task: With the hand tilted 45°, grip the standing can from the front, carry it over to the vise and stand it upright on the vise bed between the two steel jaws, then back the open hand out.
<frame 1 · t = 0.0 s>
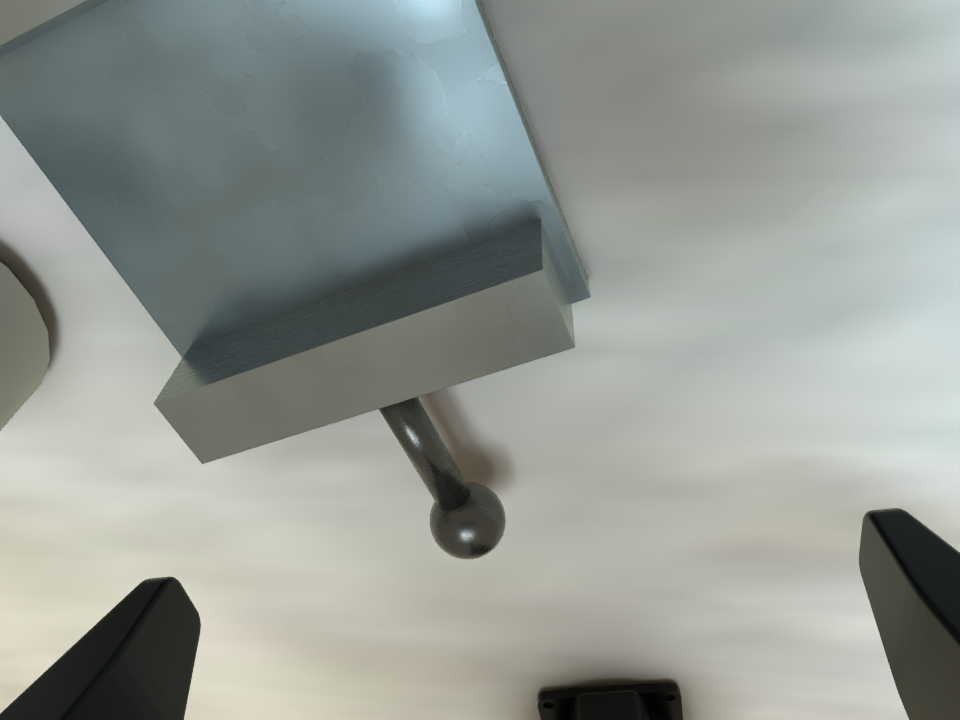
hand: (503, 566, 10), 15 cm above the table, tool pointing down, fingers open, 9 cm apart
vise: (282, 133, 22), on the table
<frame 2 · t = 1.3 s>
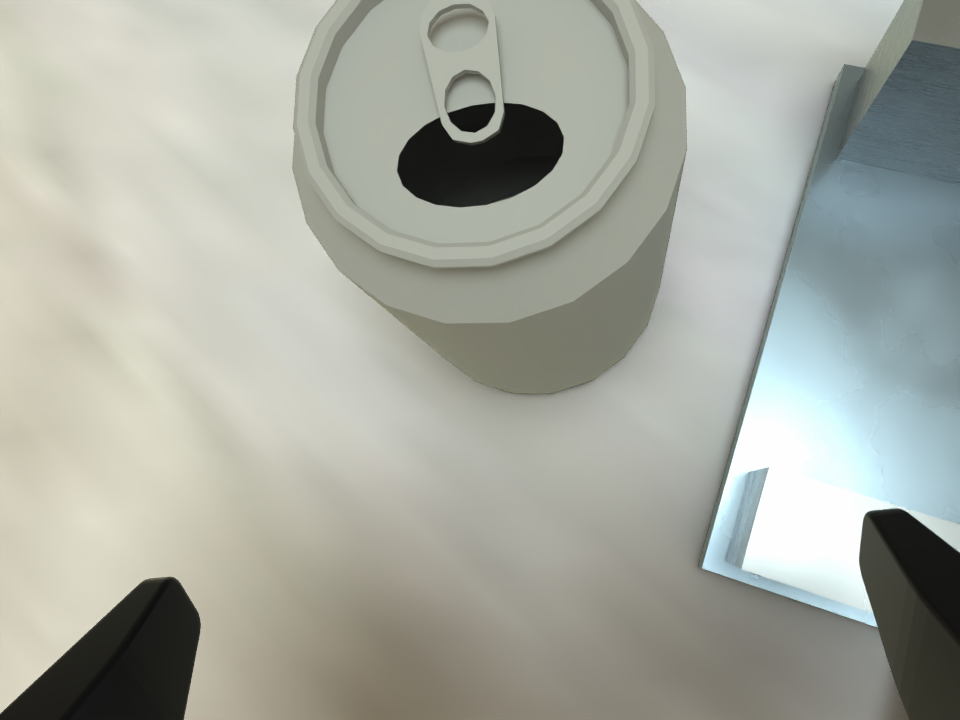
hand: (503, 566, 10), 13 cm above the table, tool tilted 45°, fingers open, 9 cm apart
can: (537, 281, 25), on the table
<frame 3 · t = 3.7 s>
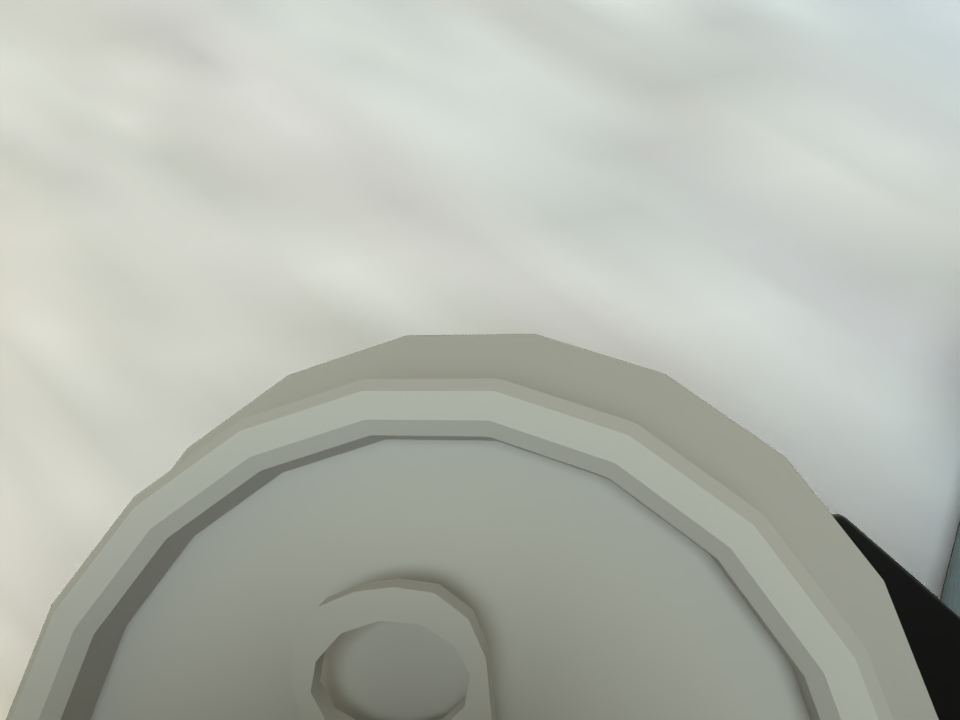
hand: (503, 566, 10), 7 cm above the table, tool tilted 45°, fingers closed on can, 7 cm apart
can: (555, 608, 17), on the table, touching gripper
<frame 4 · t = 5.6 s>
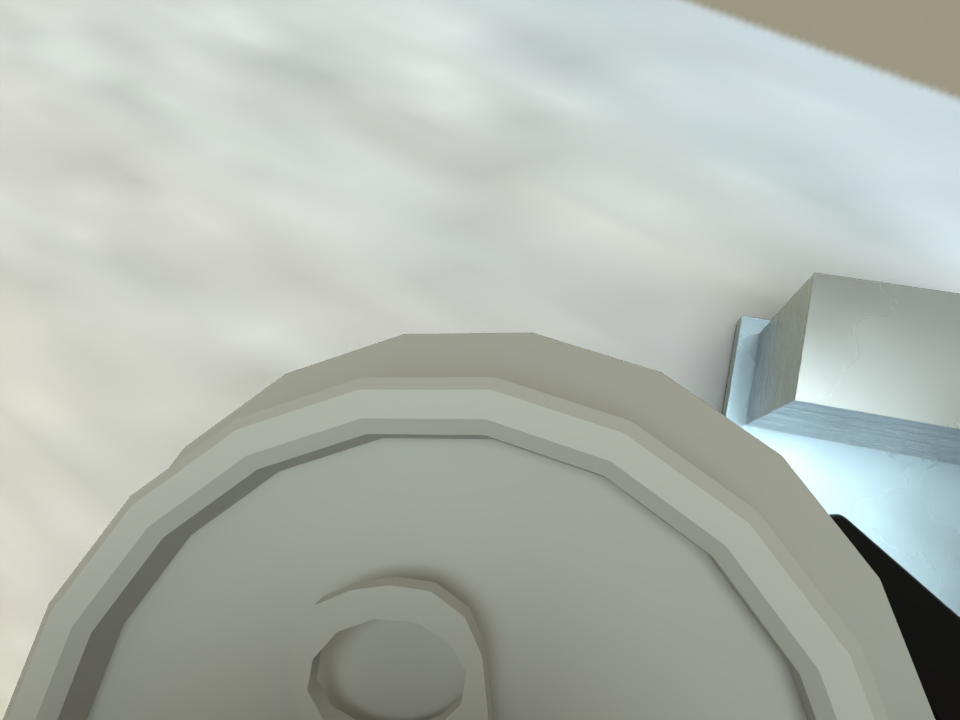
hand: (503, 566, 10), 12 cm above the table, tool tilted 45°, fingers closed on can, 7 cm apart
vise: (954, 656, 20), on the table
can: (554, 606, 17), point 5 cm above the table, touching gripper
when the fingers open (9 cm above the table, at t = 7.7 s): can stays where it is, resting on vise.
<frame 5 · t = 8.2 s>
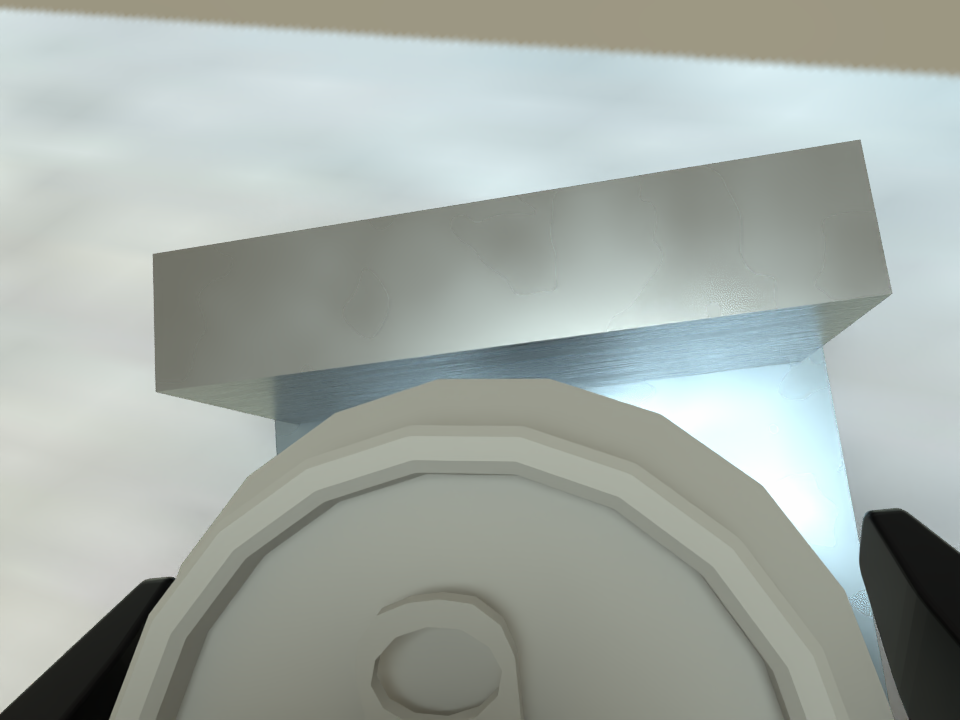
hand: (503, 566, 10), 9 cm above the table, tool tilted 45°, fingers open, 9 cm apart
vise: (562, 596, 19), on the table
can: (560, 610, 18), point 1 cm above the table, touching vise
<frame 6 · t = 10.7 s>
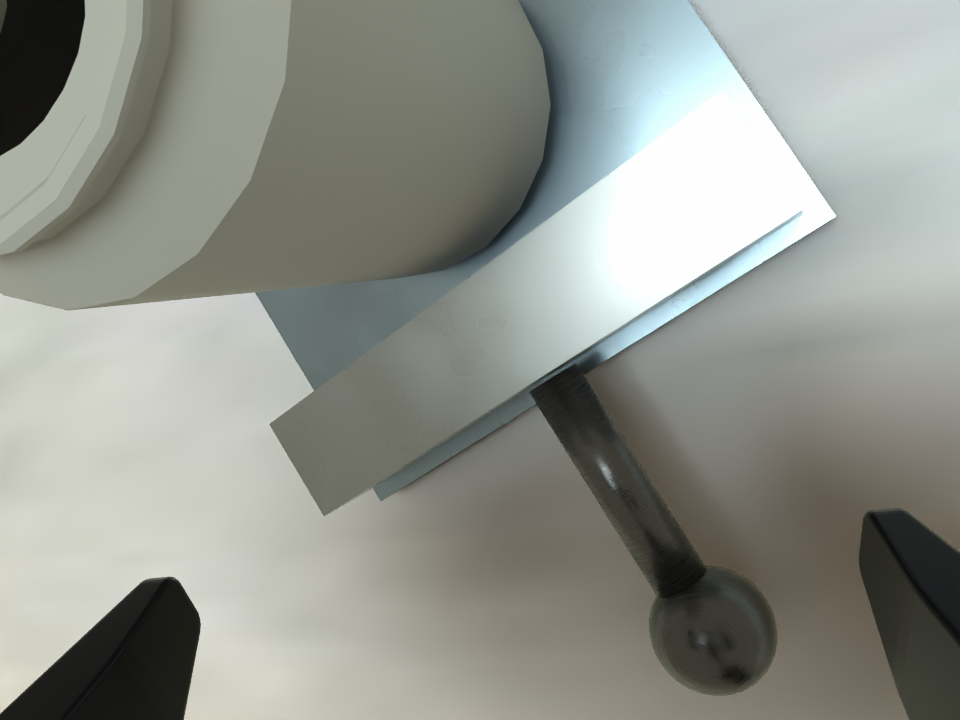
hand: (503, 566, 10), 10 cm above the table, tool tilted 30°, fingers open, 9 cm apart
vise: (427, 120, 20), on the table
can: (417, 123, 19), point 1 cm above the table, touching vise
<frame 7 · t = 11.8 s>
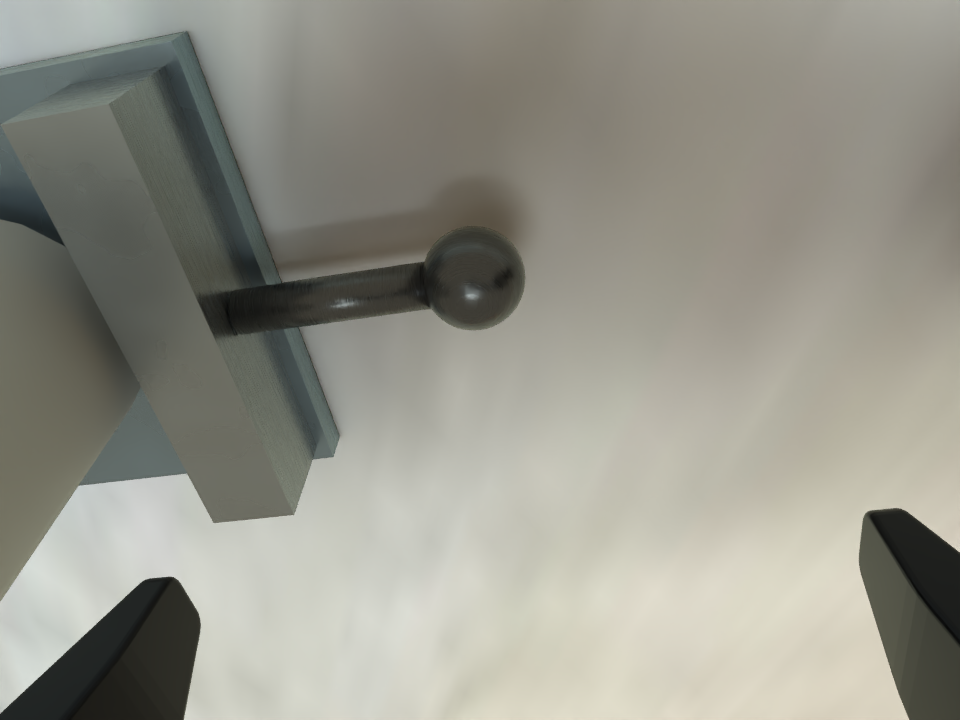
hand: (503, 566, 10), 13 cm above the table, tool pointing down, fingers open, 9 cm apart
vise: (39, 302, 24), on the table
can: (31, 315, 23), point 1 cm above the table, touching vise
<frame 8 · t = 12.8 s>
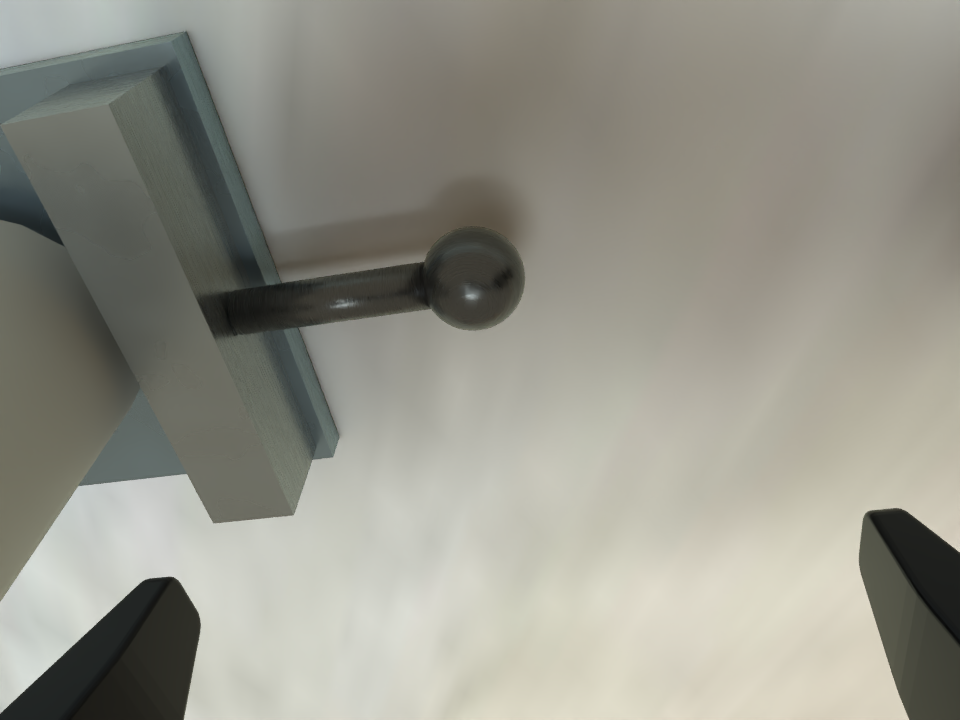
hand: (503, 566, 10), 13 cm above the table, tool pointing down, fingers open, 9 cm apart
vise: (38, 302, 24), on the table
can: (31, 315, 23), point 1 cm above the table, touching vise
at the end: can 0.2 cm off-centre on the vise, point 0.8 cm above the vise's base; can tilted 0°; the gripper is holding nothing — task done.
